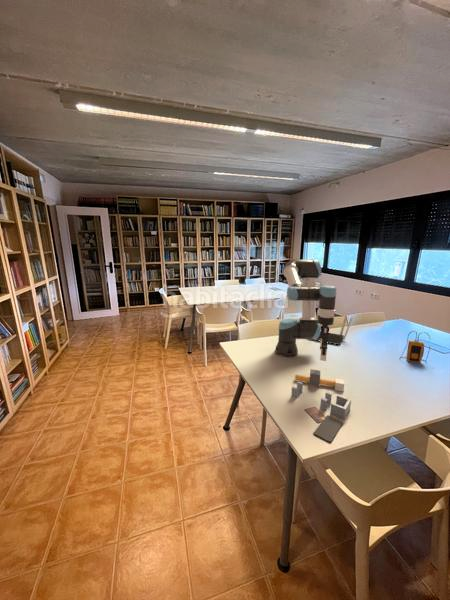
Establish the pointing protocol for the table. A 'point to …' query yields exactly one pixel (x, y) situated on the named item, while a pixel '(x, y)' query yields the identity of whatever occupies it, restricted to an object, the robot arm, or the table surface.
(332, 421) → the smartphone
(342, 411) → the end holder
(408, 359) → the multimeter
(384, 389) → the table surface
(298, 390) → the clip
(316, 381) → the orange rod with blocks
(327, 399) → the clip
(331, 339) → the wireless router
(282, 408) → the table surface
